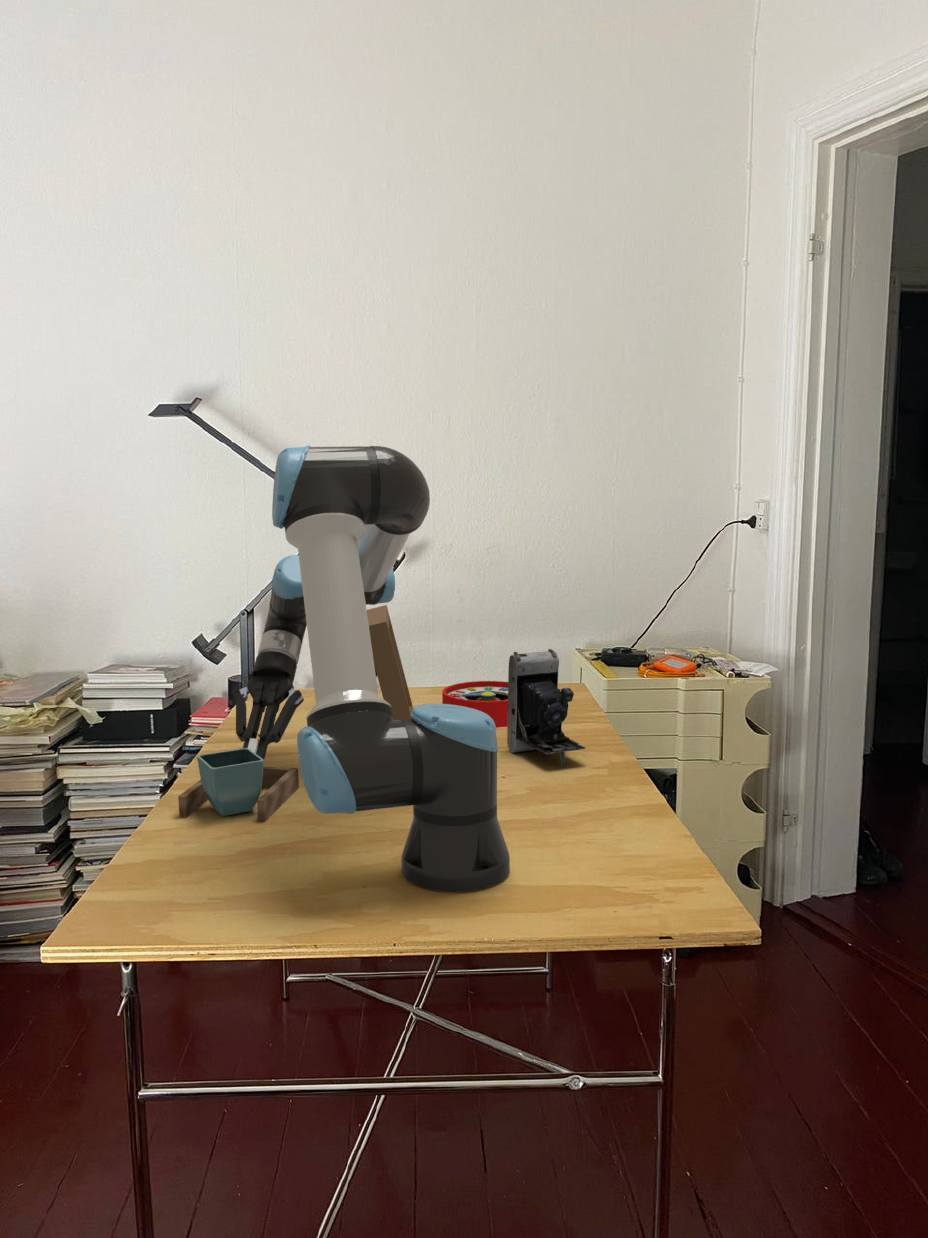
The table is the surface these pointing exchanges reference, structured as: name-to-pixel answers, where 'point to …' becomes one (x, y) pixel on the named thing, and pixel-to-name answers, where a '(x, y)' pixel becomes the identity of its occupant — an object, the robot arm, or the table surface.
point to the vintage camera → (537, 705)
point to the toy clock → (481, 698)
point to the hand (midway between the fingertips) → (247, 775)
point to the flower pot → (231, 779)
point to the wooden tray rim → (280, 789)
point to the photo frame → (388, 663)
